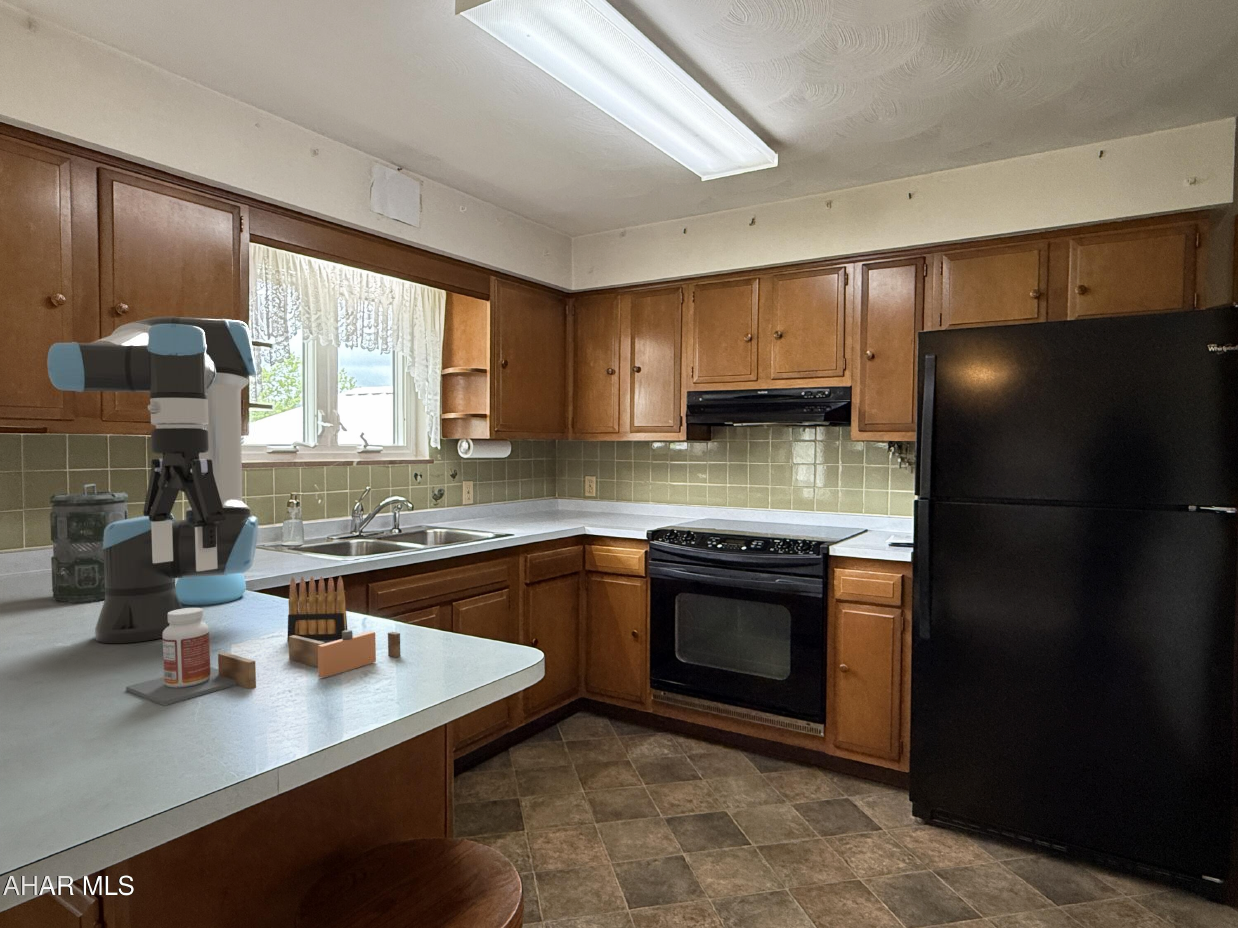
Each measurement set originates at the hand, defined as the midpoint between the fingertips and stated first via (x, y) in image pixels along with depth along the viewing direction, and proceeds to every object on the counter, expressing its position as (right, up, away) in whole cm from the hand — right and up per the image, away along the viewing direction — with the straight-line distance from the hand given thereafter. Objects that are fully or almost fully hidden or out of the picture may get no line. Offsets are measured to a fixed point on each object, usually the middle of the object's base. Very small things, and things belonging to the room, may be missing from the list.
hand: (184, 565), depth 112 cm
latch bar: (+22, -18, +7) cm, 30 cm away
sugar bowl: (-32, -17, +64) cm, 74 cm away
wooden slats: (+16, -18, +9) cm, 26 cm away
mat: (0, -19, 0) cm, 19 cm away
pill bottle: (0, -18, 0) cm, 18 cm away
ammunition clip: (+9, -18, +27) cm, 34 cm away
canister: (-64, -18, +69) cm, 95 cm away
